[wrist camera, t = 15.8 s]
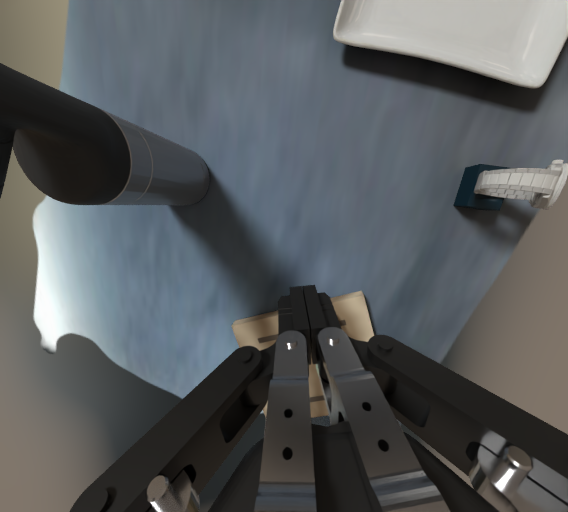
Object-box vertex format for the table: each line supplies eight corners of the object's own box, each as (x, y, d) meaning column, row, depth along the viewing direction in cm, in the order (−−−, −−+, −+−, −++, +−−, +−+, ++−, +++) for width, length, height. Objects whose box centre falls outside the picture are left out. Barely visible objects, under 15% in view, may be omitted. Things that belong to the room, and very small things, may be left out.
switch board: (269, 414, 47) (267, 425, 45) (235, 320, 44) (230, 326, 41) (388, 397, 43) (392, 407, 41) (361, 290, 39) (364, 295, 37)
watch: (497, 212, 34) (579, 214, 24) (441, 203, 35) (497, 202, 24) (511, 173, 33) (605, 157, 22) (453, 165, 34) (518, 146, 23)
